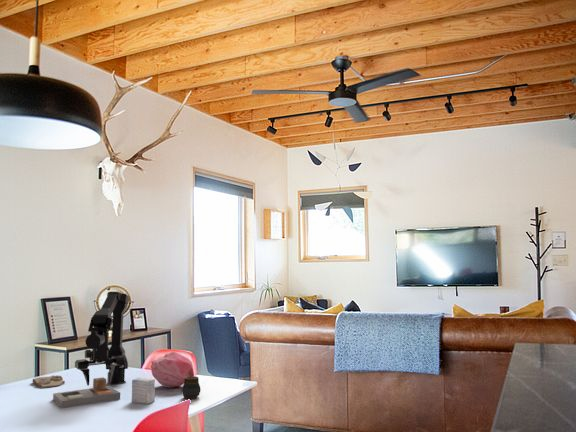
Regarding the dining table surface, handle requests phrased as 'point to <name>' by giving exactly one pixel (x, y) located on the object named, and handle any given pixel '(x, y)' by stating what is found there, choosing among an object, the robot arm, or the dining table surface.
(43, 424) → the dining table surface
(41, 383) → the fossil
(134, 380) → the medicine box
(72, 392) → the socket plate
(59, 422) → the dining table surface
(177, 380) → the decorative rock
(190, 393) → the mate gourd
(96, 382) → the plug
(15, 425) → the dining table surface
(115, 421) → the dining table surface
